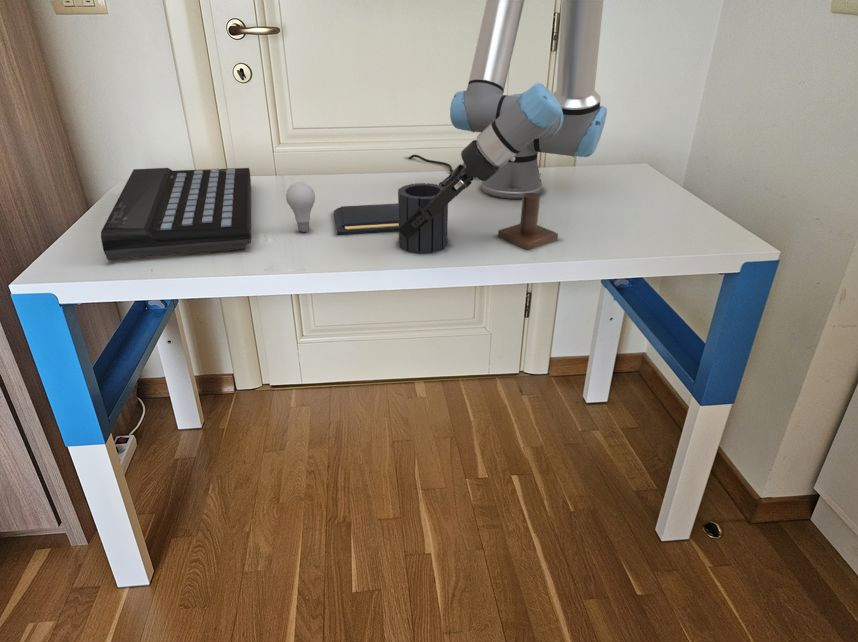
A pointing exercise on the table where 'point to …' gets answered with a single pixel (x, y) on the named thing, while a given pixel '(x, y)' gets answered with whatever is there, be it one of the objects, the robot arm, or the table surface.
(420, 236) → the ribbed pencil cup
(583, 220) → the table surface
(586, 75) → the robot arm
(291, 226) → the table surface
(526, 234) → the peg
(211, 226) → the computer keyboard
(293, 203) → the lightbulb
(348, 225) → the wallet
